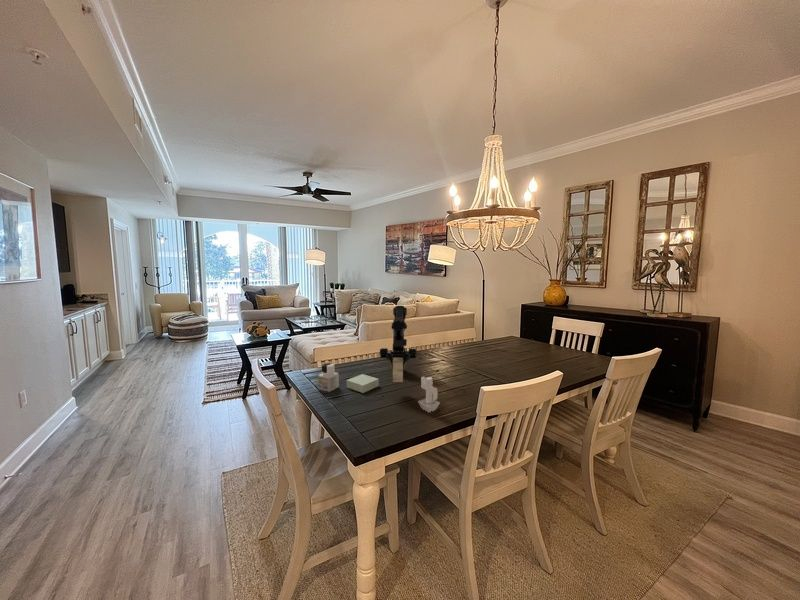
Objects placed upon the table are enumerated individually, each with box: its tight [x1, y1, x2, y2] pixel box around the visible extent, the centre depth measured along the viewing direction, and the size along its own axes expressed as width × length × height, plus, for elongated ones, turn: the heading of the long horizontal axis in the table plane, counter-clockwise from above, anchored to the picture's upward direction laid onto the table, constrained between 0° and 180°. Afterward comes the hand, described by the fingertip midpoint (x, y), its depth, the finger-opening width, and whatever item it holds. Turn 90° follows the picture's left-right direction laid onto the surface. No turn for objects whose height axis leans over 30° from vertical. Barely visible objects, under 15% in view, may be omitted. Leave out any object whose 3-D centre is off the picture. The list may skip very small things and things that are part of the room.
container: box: [317, 362, 340, 393], centre depth 175 cm, size 8×8×13 cm
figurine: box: [417, 376, 441, 414], centre depth 150 cm, size 7×9×15 cm
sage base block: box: [346, 373, 380, 394], centre depth 177 cm, size 12×12×4 cm
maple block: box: [392, 358, 404, 383], centre depth 168 cm, size 5×5×11 cm
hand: (397, 368), depth 167 cm, fingers closed on maple block, 5 cm apart
